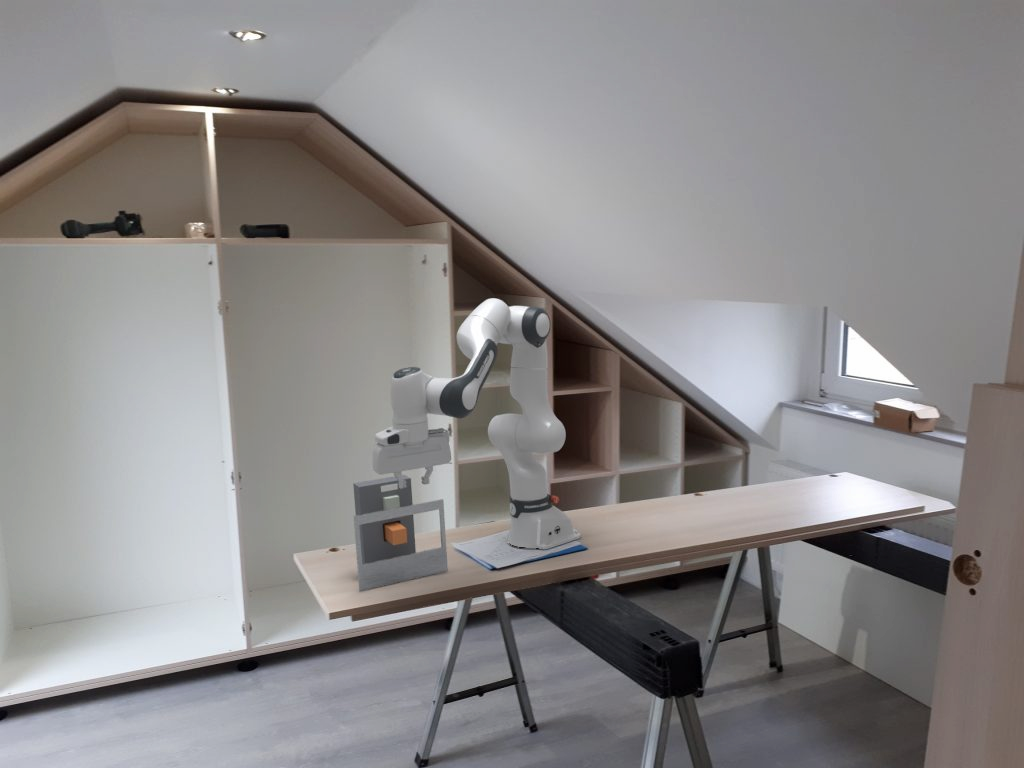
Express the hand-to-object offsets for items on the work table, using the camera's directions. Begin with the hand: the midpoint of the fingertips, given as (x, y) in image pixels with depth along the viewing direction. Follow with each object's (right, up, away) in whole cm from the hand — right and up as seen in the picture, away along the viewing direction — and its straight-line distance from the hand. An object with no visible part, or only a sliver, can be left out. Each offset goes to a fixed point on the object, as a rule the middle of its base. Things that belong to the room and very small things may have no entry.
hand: (414, 485), depth 214 cm
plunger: (-7, -17, +18) cm, 26 cm away
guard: (-6, -27, +18) cm, 33 cm away
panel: (-10, -27, +23) cm, 37 cm away
